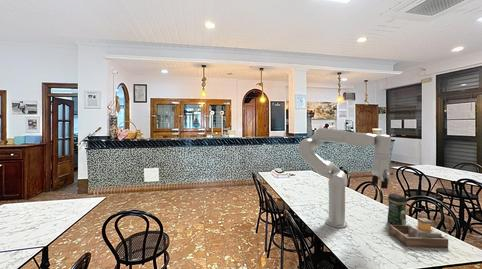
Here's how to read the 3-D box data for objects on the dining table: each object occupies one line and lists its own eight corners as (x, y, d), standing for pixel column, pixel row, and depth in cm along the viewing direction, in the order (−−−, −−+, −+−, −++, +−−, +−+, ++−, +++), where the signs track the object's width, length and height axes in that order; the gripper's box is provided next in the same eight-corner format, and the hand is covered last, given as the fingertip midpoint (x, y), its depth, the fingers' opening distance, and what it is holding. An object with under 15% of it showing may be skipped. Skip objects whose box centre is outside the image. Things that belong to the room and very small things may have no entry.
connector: (416, 235, 127) (417, 218, 127) (425, 236, 127) (425, 218, 127) (422, 239, 123) (423, 221, 122) (431, 240, 123) (432, 221, 122)
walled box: (388, 232, 134) (388, 222, 133) (424, 233, 132) (425, 223, 132) (406, 246, 118) (407, 235, 117) (448, 248, 116) (448, 236, 116)
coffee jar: (384, 221, 149) (385, 192, 149) (394, 220, 152) (395, 191, 151) (398, 227, 140) (399, 197, 139) (408, 226, 142) (409, 196, 142)
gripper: (367, 153, 140) (365, 181, 141) (383, 158, 123) (380, 190, 124) (380, 154, 140) (377, 182, 141) (397, 159, 123) (395, 190, 124)
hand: (379, 185), depth 132 cm, fingers open, 9 cm apart
